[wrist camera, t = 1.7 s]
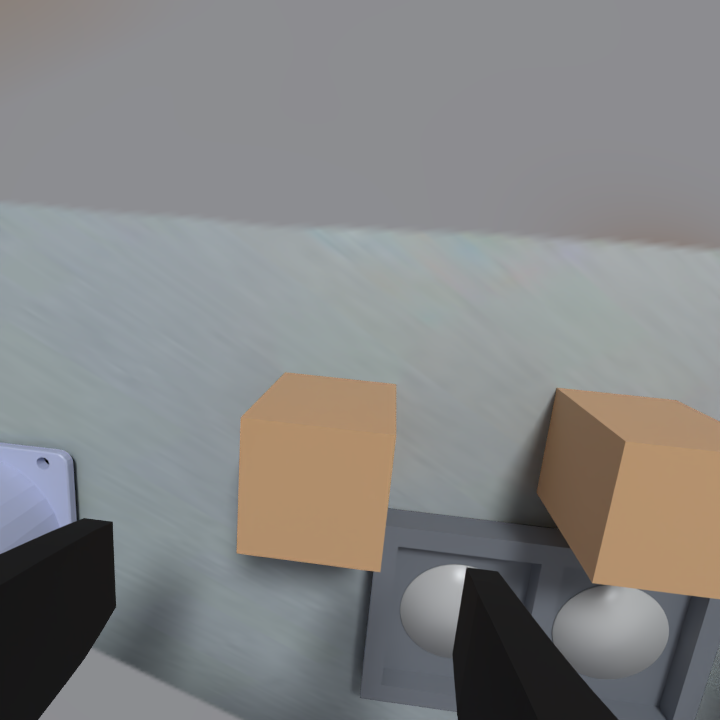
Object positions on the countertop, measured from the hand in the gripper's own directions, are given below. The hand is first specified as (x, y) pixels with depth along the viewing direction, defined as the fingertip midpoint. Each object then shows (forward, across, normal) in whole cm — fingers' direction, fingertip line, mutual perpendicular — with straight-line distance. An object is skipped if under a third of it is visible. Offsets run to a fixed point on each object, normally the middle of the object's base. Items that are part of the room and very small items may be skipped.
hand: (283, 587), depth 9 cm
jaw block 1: (+8, 0, 0) cm, 8 cm away
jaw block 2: (+9, -10, 0) cm, 13 cm away
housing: (+8, -8, +7) cm, 14 cm away
